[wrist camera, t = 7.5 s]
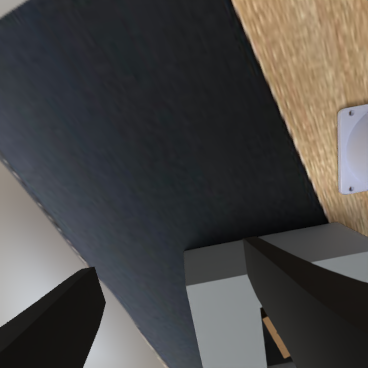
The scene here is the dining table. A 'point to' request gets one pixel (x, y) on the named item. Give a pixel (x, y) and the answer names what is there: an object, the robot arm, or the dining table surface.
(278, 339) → the brown wooden block
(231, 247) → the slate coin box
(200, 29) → the dining table surface
